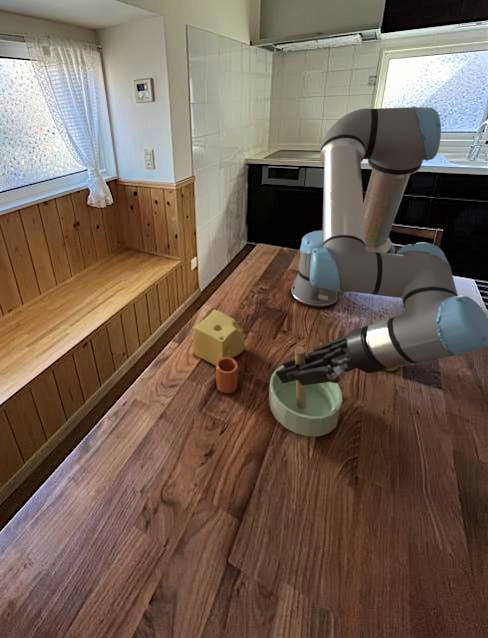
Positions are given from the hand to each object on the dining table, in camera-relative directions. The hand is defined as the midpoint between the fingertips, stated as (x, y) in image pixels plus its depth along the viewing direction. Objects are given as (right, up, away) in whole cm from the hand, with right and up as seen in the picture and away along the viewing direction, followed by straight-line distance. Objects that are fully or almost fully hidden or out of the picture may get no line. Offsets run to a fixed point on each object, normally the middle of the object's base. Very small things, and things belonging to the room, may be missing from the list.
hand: (283, 372), depth 74 cm
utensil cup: (-12, -7, +9) cm, 16 cm away
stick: (+5, -8, +2) cm, 10 cm away
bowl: (+5, -9, +3) cm, 11 cm away
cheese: (-13, -3, +20) cm, 24 cm away
